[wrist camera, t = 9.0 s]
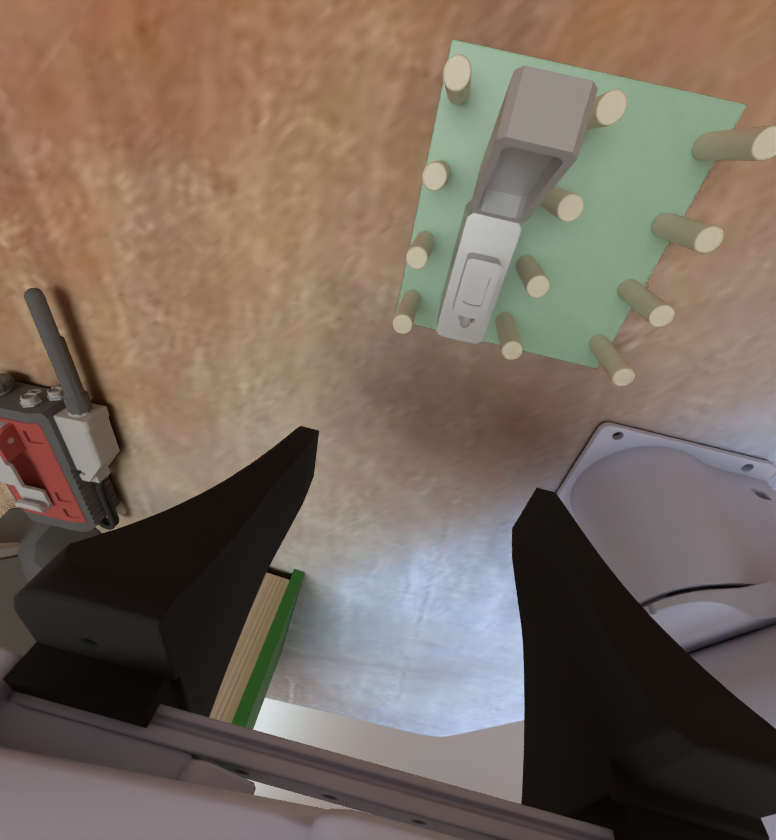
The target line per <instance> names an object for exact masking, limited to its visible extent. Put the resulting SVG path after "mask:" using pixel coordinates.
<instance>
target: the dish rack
mask: <svg viewBox="0 0 776 840" xmlns="http://www.w3.org/2000/svg"><path fill="white" fill-rule="evenodd" d="M522 66H530V67H534V68H539V69H543V70H548V71H552V72H556V73H561V74H565V75H570V76H574V77H579V78H583V79H588V80H592V81H594V83H595V84H596V86H597V88H598V91H597V94H596V97H595V101H594V104H593V108H592V111H591V114H590V118H589V121H588V125H587V128H586V131H585V135H584V138H583V142H582V145H581V148H580V152H579V155H578V158H577V160H576V161H575V162H574V163H573V165H572V166H571V167H570V168H569V170H568V171H567V172H566V173H565V174H564V176H563V177H562V178H561V179H560V181H559V182H558V183H557V184H556V185H555V187H554V188H553V189H552V190H551V192H550V193H549V194H548V195H547V196H546V198H545V199H544V200H543V201H542V203H541V204H540V205H539V206H538V207H537V209H536V210H535V211H534V212H533V214H532V215H531V216H530V217H529V218H528V220H527V221H526V222H525V223H519V225H520V228H521V233H520V236H519V239H518V241H517V244H516V247H515V250H514V253H513V255H512V258H511V261H510V264H509V267H508V269H507V272H506V275H505V278H504V281H503V284H502V286H501V289H500V292H499V295H498V298H497V300H496V303H495V306H494V309H493V312H492V315H491V317H490V320H489V323H488V326H487V329H486V331H485V334H484V337H483V340H482V341H484V342H488V343H492V344H497V345H500V347H501V353H502V355H503V357H504V358H506V359H509V360H514V359H517V358H518V357H519V356H520V355H521V354H522V351H525V352H530V353H534V354H538V355H542V356H546V357H550V358H554V359H559V360H563V361H567V362H571V363H575V364H579V365H583V366H588V367H592V368H596V369H597V368H598V366H599V365H600V364H601V366H602V367H603V369H604V370H605V372H606V373H607V375H608V376H609V378H610V379H611V381H612V382H613V384H615V385H617V386H626V385H628V384H630V383H631V382H632V381H633V379H634V376H635V374H634V371H633V370H632V369H631V367H630V366H629V365H628V364H627V362H626V361H625V360H624V359H623V357H622V356H621V355H620V354H619V352H618V351H617V350H616V348H615V347H614V346H613V345H612V342H613V340H614V338H615V336H616V335H617V333H618V331H619V329H620V328H621V326H622V324H623V322H624V321H625V319H626V317H627V315H628V314H629V312H630V310H631V308H633V309H634V310H635V311H636V312H637V313H638V314H639V315H640V316H642V317H643V318H644V319H645V320H646V321H647V322H648V323H649V324H651V325H652V326H654V327H662V326H665V325H667V324H668V323H670V322H671V321H672V319H673V317H674V314H675V311H674V309H673V307H672V306H670V305H669V304H667V303H666V302H665V301H663V300H662V299H660V298H659V297H658V296H656V295H655V294H654V293H652V292H651V291H649V290H648V289H647V288H645V287H644V285H645V284H646V282H647V280H648V278H649V277H650V275H651V273H652V271H653V269H654V268H655V266H656V264H657V262H658V261H659V259H660V257H661V255H662V254H663V252H664V250H665V248H666V247H667V245H668V243H669V241H671V242H673V243H676V244H678V245H681V246H683V247H686V248H688V249H691V250H693V251H695V252H698V253H708V252H711V251H713V250H714V249H716V248H717V247H718V246H719V245H720V244H721V242H722V240H723V236H724V234H723V230H722V229H721V228H720V227H718V226H715V225H711V224H708V223H704V222H700V221H697V220H693V219H690V218H686V217H684V215H685V213H686V211H687V210H688V208H689V206H690V204H691V203H692V201H693V199H694V197H695V196H696V194H697V192H698V190H699V188H700V187H701V185H702V183H703V181H704V180H705V178H706V176H707V174H708V173H709V171H710V169H711V167H712V166H713V164H714V162H715V160H740V161H764V160H767V159H770V158H771V157H773V156H775V155H776V125H772V126H762V127H752V128H742V129H734V127H735V125H736V123H737V122H738V120H739V118H740V116H741V115H742V113H743V111H744V109H745V107H746V104H743V103H738V102H734V101H729V100H725V99H720V98H716V97H711V96H707V95H702V94H698V93H693V92H689V91H684V90H680V89H675V88H671V87H666V86H662V85H657V84H653V83H648V82H644V81H639V80H635V79H630V78H626V77H621V76H617V75H612V74H608V73H603V72H599V71H594V70H590V69H585V68H581V67H576V66H572V65H567V64H563V63H558V62H554V61H549V60H545V59H540V58H535V57H531V56H526V55H522V54H517V53H513V52H508V51H504V50H499V49H495V48H490V47H486V46H481V45H477V44H472V43H468V42H463V41H459V40H454V39H452V41H451V45H450V50H449V55H448V60H447V62H446V64H445V66H444V70H443V84H442V89H441V94H440V99H439V104H438V109H437V114H436V119H435V124H434V129H433V133H432V138H431V143H430V148H429V153H428V158H427V163H426V167H425V168H424V170H423V174H422V181H423V183H422V187H421V192H420V197H419V202H418V207H417V212H416V217H415V222H414V227H413V232H412V237H411V241H410V246H409V250H408V252H407V254H406V266H405V271H404V276H403V281H402V286H401V291H400V295H399V300H398V305H397V310H396V315H395V317H394V319H393V323H392V324H393V328H394V330H395V331H396V332H398V333H400V334H405V333H408V332H409V331H410V330H411V329H412V326H413V324H414V325H418V326H422V327H426V328H430V329H434V330H436V327H437V321H438V315H439V308H440V302H441V296H442V292H443V288H444V285H445V281H446V277H447V273H448V270H449V266H450V262H451V259H452V255H453V251H454V247H455V244H456V240H457V236H458V233H459V229H460V225H461V221H462V218H463V214H464V210H465V207H466V204H467V203H468V202H469V201H471V200H472V198H473V194H474V190H475V186H476V182H477V178H478V174H479V171H480V167H481V163H482V160H483V157H484V154H485V152H486V149H487V146H488V143H489V140H490V137H491V134H492V132H493V129H494V126H495V123H496V120H497V117H498V114H499V112H500V109H501V106H502V103H503V100H504V97H505V94H506V92H507V89H508V86H509V83H510V80H511V77H512V74H513V72H514V70H515V69H517V68H520V67H522Z"/></svg>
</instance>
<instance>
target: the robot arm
mask: <svg viewBox="0 0 776 840" xmlns="http://www.w3.org/2000/svg"><path fill="white" fill-rule="evenodd" d="M616 432H621V433H620V434H619V435H616V436H613V434H614V433H616ZM318 435H319V431H318V430H314V429H310V428H306V427H303V426H300V427H298V428H297V429H295V430H294V431H293V432H292V433H291V434H289V435H288V436H287V437H286V438H285V439H283V440H282V441H281V442H280V443H278V444H277V445H276V446H274V447H273V448H272V449H271V450H269V451H268V452H266V453H265V454H264V455H262V456H261V457H260V458H258V459H257V460H255V461H254V462H253V463H251V464H250V465H248V466H247V467H245V468H244V469H242V470H240V471H239V472H237V473H236V474H234V475H233V476H231V477H230V478H228V479H226V480H225V481H223V482H221V483H220V484H218V485H216V486H214V487H213V488H211V489H209V490H207V491H205V492H203V493H201V494H199V495H197V496H195V497H193V498H191V499H189V500H187V501H185V502H183V503H181V504H179V505H177V506H175V507H172V508H170V509H168V510H166V511H163V512H161V513H158V514H156V515H153V516H151V517H148V518H146V519H143V520H141V521H138V522H135V523H133V524H130V525H127V526H124V527H121V528H118V529H116V530H112V531H109V532H106V533H103V534H100V535H96V536H93V537H90V538H87V539H84V540H80V541H77V542H73V543H70V544H69V545H67V546H66V547H65V548H64V549H63V550H62V551H61V552H59V553H58V554H57V555H56V556H55V557H54V558H53V559H52V560H51V561H50V562H49V563H48V564H47V565H46V566H45V567H44V568H43V569H42V570H41V571H40V572H39V573H38V574H37V575H36V576H35V577H34V578H32V579H31V580H30V581H29V582H28V583H27V584H26V585H25V586H24V587H23V588H22V589H21V590H20V591H19V592H18V593H17V594H16V595H15V596H14V609H15V611H16V613H17V615H18V616H19V618H20V619H21V621H22V622H23V623H24V625H25V626H26V628H27V629H28V630H29V632H30V633H31V635H32V636H33V637H34V639H35V640H36V643H35V644H34V645H33V646H32V648H31V649H30V650H29V651H28V652H27V653H26V654H25V655H24V656H23V655H22V654H21V653H19V652H17V651H15V650H13V649H10V648H8V647H5V646H1V645H0V840H776V492H775V491H774V490H773V489H772V488H771V487H770V486H769V484H768V483H767V481H768V480H769V479H770V478H771V477H772V476H773V475H775V473H776V466H775V465H774V464H773V463H772V462H769V461H766V460H762V459H758V458H753V457H749V456H745V455H741V454H737V453H733V452H729V451H725V450H721V449H717V448H713V447H709V446H704V445H700V444H696V443H692V442H688V441H684V440H680V439H676V438H672V437H668V436H664V435H660V434H655V433H651V432H647V431H643V430H639V429H635V428H631V427H627V426H623V425H619V424H615V423H609V422H607V423H603V424H601V425H600V426H599V427H598V428H597V430H596V431H595V433H594V434H593V436H592V438H591V439H590V441H589V442H588V444H587V446H586V447H585V449H584V450H583V452H582V453H581V455H580V457H579V458H578V460H577V461H576V463H575V464H574V466H573V468H572V469H571V471H570V472H569V474H568V476H567V477H566V479H565V480H564V482H563V483H562V485H561V487H560V488H559V490H558V491H557V493H555V492H552V491H548V490H544V489H540V488H536V490H535V491H534V493H533V495H532V496H531V498H530V500H529V501H528V503H527V505H526V506H525V508H524V510H523V511H522V513H521V515H520V516H519V518H518V520H517V521H516V523H515V525H514V526H513V528H512V560H513V568H514V576H515V583H516V590H517V598H518V605H519V612H520V619H521V626H522V636H523V654H524V698H525V719H524V763H523V787H522V788H523V789H522V804H518V803H515V802H511V801H507V800H504V799H500V798H497V797H493V796H489V795H486V794H482V793H478V792H475V791H471V790H468V789H464V788H461V787H457V786H454V785H450V784H446V783H442V782H439V781H436V780H432V779H428V778H425V777H421V776H418V775H414V774H410V773H407V772H403V771H400V770H396V769H392V768H388V767H385V766H382V765H378V764H374V763H371V762H367V761H363V760H359V759H356V758H353V757H349V756H346V755H342V754H338V753H334V752H331V751H328V750H324V749H320V748H317V747H313V746H310V745H306V744H302V743H299V742H295V741H291V740H288V739H284V738H281V737H277V736H273V735H270V734H266V733H263V732H259V731H256V730H252V729H248V728H245V727H241V726H238V725H234V724H231V723H227V722H223V721H220V720H216V719H213V718H209V716H210V714H211V711H212V708H213V705H214V703H215V700H216V697H217V695H218V692H219V689H220V687H221V684H222V681H223V679H224V676H225V673H226V671H227V668H228V666H229V663H230V660H231V658H232V655H233V653H234V650H235V648H236V645H237V643H238V640H239V637H240V635H241V632H242V630H243V627H244V625H245V622H246V620H247V618H248V615H249V613H250V610H251V608H252V605H253V603H254V600H255V598H256V596H257V593H258V591H259V589H260V586H261V584H262V581H263V579H264V577H265V574H266V572H267V570H268V568H269V566H270V564H271V562H272V560H273V558H274V556H275V554H276V552H277V551H278V549H279V547H280V545H281V543H282V541H283V539H284V538H285V536H286V534H287V532H288V530H289V528H290V527H291V525H292V523H293V521H294V519H295V517H296V515H297V514H298V512H299V510H300V508H301V506H302V504H303V502H304V500H305V497H306V495H307V492H308V490H309V487H310V484H311V482H312V479H313V477H314V469H315V461H316V452H317V444H318ZM746 464H747V465H746ZM744 465H746V466H744ZM245 778H246V779H245ZM247 779H249V780H253V781H256V782H260V783H263V784H267V785H270V786H274V787H278V788H281V789H285V790H288V791H292V792H295V793H299V794H303V795H306V796H310V797H313V798H317V799H320V800H325V801H328V802H331V803H335V804H338V805H342V806H345V807H349V808H352V809H356V810H360V811H364V812H367V813H363V812H359V811H354V810H346V809H323V808H318V807H313V806H307V805H302V804H297V803H292V802H287V801H282V800H277V799H271V798H266V797H261V796H255V795H254V792H255V785H254V783H253V782H251V781H249V780H247ZM368 813H370V814H368ZM373 814H374V815H373ZM391 819H392V820H391ZM416 826H417V827H416ZM423 828H424V829H423ZM448 835H449V836H448Z"/></svg>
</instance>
